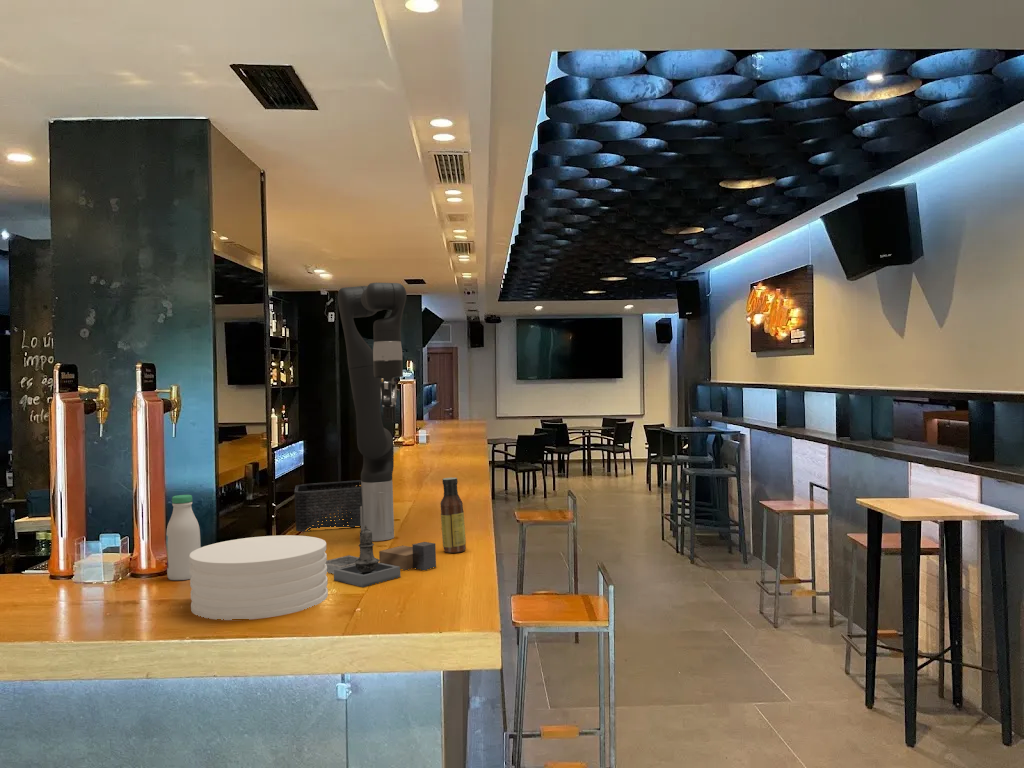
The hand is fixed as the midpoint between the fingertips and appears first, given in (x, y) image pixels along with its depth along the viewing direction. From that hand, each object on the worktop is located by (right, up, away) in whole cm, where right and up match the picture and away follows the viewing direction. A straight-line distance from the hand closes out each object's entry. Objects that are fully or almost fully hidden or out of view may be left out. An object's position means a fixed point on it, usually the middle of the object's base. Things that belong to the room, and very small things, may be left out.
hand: (389, 421), depth 205 cm
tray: (-2, -36, -20) cm, 41 cm away
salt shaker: (-2, -36, -20) cm, 41 cm away
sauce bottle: (+16, -36, +8) cm, 40 cm away
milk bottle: (-48, -38, -12) cm, 63 cm away
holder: (-10, -36, -9) cm, 39 cm away
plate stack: (-22, -37, -36) cm, 56 cm away
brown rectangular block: (+5, -36, -6) cm, 37 cm away
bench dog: (+10, -36, -11) cm, 39 cm away
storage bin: (-25, -37, +56) cm, 72 cm away
